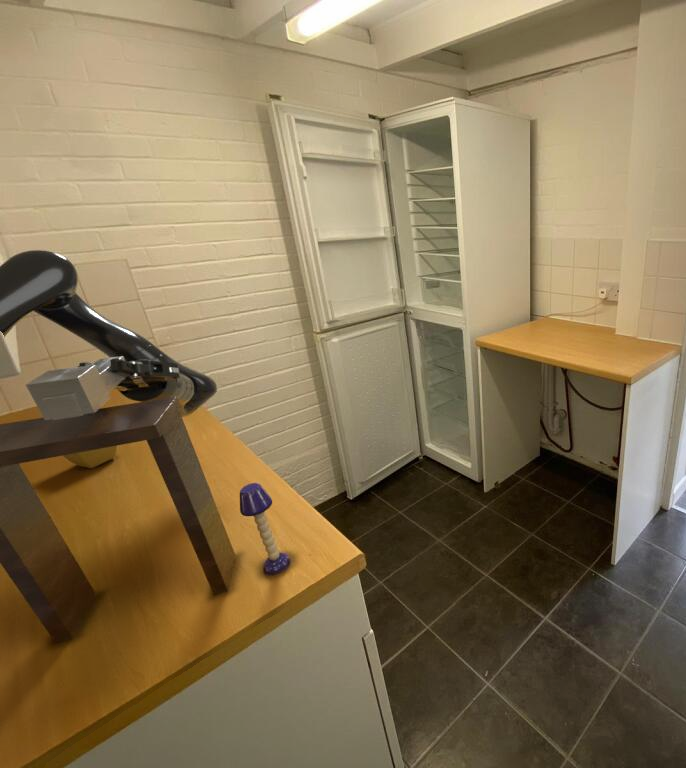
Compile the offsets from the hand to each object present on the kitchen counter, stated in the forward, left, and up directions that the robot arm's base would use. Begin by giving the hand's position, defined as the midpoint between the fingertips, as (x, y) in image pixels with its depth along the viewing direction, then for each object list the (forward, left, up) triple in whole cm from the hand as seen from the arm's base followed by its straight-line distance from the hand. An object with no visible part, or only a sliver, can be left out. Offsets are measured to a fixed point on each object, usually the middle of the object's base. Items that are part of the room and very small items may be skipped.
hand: (99, 367), depth 62 cm
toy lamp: (+16, -9, -37) cm, 42 cm away
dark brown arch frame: (-2, -8, -37) cm, 38 cm away
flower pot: (-30, +48, -37) cm, 68 cm away
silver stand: (0, -4, -3) cm, 5 cm away
